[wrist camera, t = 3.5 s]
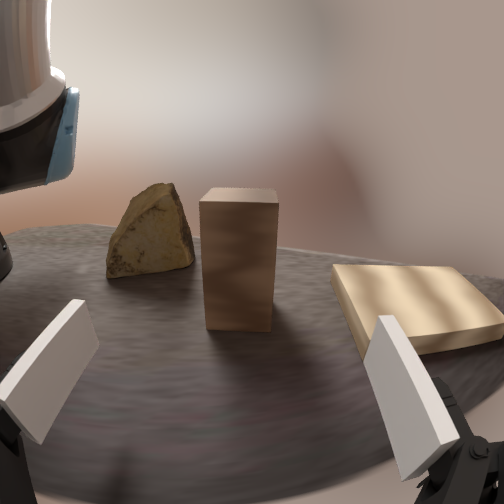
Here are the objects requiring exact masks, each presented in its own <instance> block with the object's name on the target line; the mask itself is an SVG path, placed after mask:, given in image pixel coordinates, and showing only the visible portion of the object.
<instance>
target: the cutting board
mask: <svg viewBox="0 0 504 504" xmlns="http://www.w3.org/2000/svg"><path fill="white" fill-rule="evenodd" d="M330 282H331V284H332V287H333V289H334V291H335V294H336V296H337V298H338V301H339V303H340V306H341V308H342V310H343V313H344V315H345V318H346V320H347V323H348V325H349V328H350V330H351V333H352V335H353V338H354V340H355V343H356V346H357V348H358V351H359V353H360V356H361V359H362V361H364V358H365V355H366V352H367V349H368V346H369V344H370V341H371V337H372V334H373V331H374V328H375V325H376V322H377V318H378V316H381V315H394V317H395V318H396V320H397V321H398V323H399V325H400V326H401V328H402V330H403V331H404V333H405V335H406V336H407V338H408V340H409V341H410V343H411V345H412V346H413V348H414V350H415V351H416V353H417V355H422V354H429V353H435V352H441V351H447V350H453V349H458V348H463V347H468V346H473V345H477V344H482V343H486V342H490V341H495V340H499V339H502V337H503V335H504V315H503V314H502V313H501V312H500V311H499V310H498V309H497V308H496V307H495V306H494V305H493V304H492V303H491V302H490V301H489V300H488V299H487V298H486V297H485V296H484V295H483V294H482V293H481V292H479V291H478V290H477V289H476V288H475V287H474V286H473V285H472V284H471V283H470V282H469V281H467V280H466V279H465V278H464V277H463V276H462V275H461V274H460V273H458V272H457V271H456V270H455V269H454V268H453V267H424V266H377V265H338V264H333V268H332V275H331V281H330Z"/></svg>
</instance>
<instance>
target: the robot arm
mask: <svg viewBox="0 0 504 504" xmlns="http://www.w3.org/2000/svg"><path fill="white" fill-rule="evenodd" d="M50 7H51V0H0V194H4V193H9V192H13V191H17V190H22V189H26V188H31V187H36V186H41V185H47V184H48V183H51V182H55V181H58V180H62V179H65V178H66V177H68V176H69V175H70V173H71V172H72V170H73V167H74V158H75V146H76V133H77V119H78V108H79V90H78V88H72V87H69V88H68V89H66V86H65V77H64V74H63V73H62V72H61V71H60V70H58V69H56V68H54V67H51V58H50ZM12 265H13V261H12V257H11V254H10V250H9V247H8V245H7V244H6V242H5V240H4V238H3V236H2V234H1V232H0V280H1V279H2V278H3V277H4V276H5V275H6V274H7V273H8V272H9V271H10V269H11V267H12ZM99 346H100V345H99V342H98V339H97V336H96V334H95V331H94V328H93V325H92V322H91V318H90V315H89V312H88V309H87V305H86V302H85V301H84V300H77V299H73V300H72V301H71V302H70V303H69V304H68V305H67V306H66V307H65V308H64V309H63V310H62V311H61V312H60V313H59V314H58V316H57V317H56V318H55V319H54V320H53V321H52V322H51V323H50V324H49V325H48V326H47V328H46V329H45V330H44V331H43V332H42V333H41V334H40V335H39V337H38V338H37V339H36V340H35V341H34V342H33V344H32V345H31V346H30V347H29V348H28V349H27V350H25V351H23V352H22V353H20V354H19V355H17V357H16V358H15V359H14V360H13V361H12V363H11V365H9V366H8V368H7V369H6V371H4V373H3V374H2V375H1V376H0V504H37V501H36V497H35V494H34V490H33V487H32V483H31V479H30V475H29V471H28V467H27V462H26V457H25V452H24V447H23V441H22V438H21V435H20V434H19V433H20V431H21V430H22V432H23V433H24V434H25V435H26V436H27V437H28V438H29V439H31V440H33V441H34V442H36V443H38V444H40V445H41V444H42V442H43V441H44V439H45V437H46V435H47V433H48V431H49V429H50V427H51V426H52V424H53V422H54V420H55V418H56V417H57V415H58V413H59V411H60V410H61V408H62V406H63V404H64V403H65V401H66V399H67V397H68V396H69V394H70V392H71V391H72V389H73V387H74V386H75V384H76V382H77V381H78V379H79V378H80V376H81V374H82V373H83V371H84V370H85V368H86V366H87V365H88V363H89V362H90V360H91V359H92V357H93V355H94V354H95V352H96V351H97V349H98V348H99ZM363 363H364V365H365V368H366V371H367V374H368V376H369V379H370V382H371V385H372V388H373V390H374V393H375V396H376V399H377V402H378V405H379V408H380V411H381V414H382V417H383V420H384V423H385V426H386V429H387V432H388V436H389V439H390V442H391V445H392V449H393V452H394V455H395V459H396V462H397V466H398V469H399V473H400V477H401V480H402V482H403V481H406V480H410V479H413V478H416V477H419V476H420V475H422V474H423V473H424V472H425V471H426V470H427V469H428V472H429V476H428V477H426V478H425V479H424V480H423V481H421V482H420V483H419V484H418V486H417V488H420V487H421V486H422V485H423V484H424V485H423V487H422V489H421V492H420V493H419V495H418V498H417V499H416V501H415V503H414V504H504V441H502V442H493V443H488V442H487V440H486V439H484V438H482V437H481V436H474V435H473V433H472V431H471V429H470V427H469V425H468V423H467V421H466V419H465V417H464V415H463V413H462V411H461V409H460V407H459V406H458V405H457V402H456V400H455V398H454V397H453V394H452V393H451V391H450V389H449V387H448V385H447V384H446V383H444V382H443V381H442V380H441V379H440V378H439V377H436V378H430V376H429V375H428V373H427V371H426V369H425V367H424V366H423V364H422V362H421V360H420V358H419V357H418V355H417V353H416V351H415V350H414V348H413V346H412V345H411V343H410V341H409V340H408V338H407V336H406V335H405V333H404V331H403V330H402V328H401V326H400V325H399V323H398V321H397V320H396V318H395V317H394V315H381V316H378V318H377V322H376V325H375V328H374V331H373V334H372V337H371V341H370V344H369V346H368V349H367V352H366V355H365V358H364V361H363ZM496 481H498V487H497V486H496Z"/></svg>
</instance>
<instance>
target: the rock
mask: <svg viewBox="0 0 504 504" xmlns="http://www.w3.org/2000/svg"><path fill="white" fill-rule="evenodd" d="M194 258H195V252H194V246H193V241H192V235H191V231H190V227H189V225H188V222H187V220H186V216H185V214H184V210H183V206H182V203H181V201H180V199H179V196H178V194H177V192H176V190H175V187H174V184H173V183H168V184H164V183H158V184H154V185H152V186H150V187H148V188H147V189H146V190H144V191H142V192H141V193H140V194H138V195H137V196H135V197H133V198H132V200H131V201H130V204H129V206H128V208H127V210H126V212H125V214H124V216H123V217H122V219H121V222H120V224H119V225H118V227H117V229H116V231H115V232H114V233H113V234H112V236H111V238H110V242H109V249H108V253H107V258H106V265H107V271H106V276H107V278H118V277H124V276H134V275H139V274H146V273H156V272H163V271H168V270H172V269H178V268H184V267H187V266H189V265H190V264H191V263H192V261H193V260H194Z"/></svg>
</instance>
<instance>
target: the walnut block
mask: <svg viewBox="0 0 504 504" xmlns="http://www.w3.org/2000/svg"><path fill="white" fill-rule="evenodd" d="M199 211H200V239H201V259H202V277H203V292H204V306H205V319H206V329H210V330H226V331H245V332H271V322H272V308H273V294H274V279H275V264H276V247H277V229H278V211H279V202H278V198H277V194H276V190H275V189H256V188H212V189H211V190H210V191H209V192H208V193H207V194H206V195H205V196H204V197H203V198H202V199H201V200H200V201H199Z"/></svg>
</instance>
